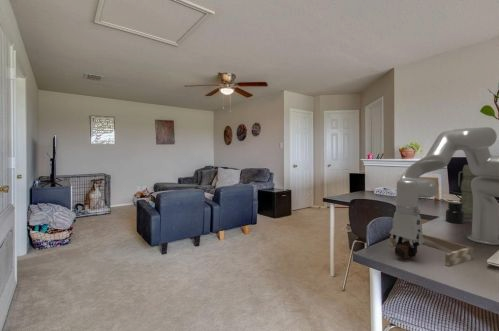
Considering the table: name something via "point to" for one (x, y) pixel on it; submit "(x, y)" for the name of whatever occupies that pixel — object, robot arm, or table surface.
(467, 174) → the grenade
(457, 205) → the ink bottle
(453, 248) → the beige u-shaped frame
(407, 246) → the brick
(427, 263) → the table surface
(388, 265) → the table surface
